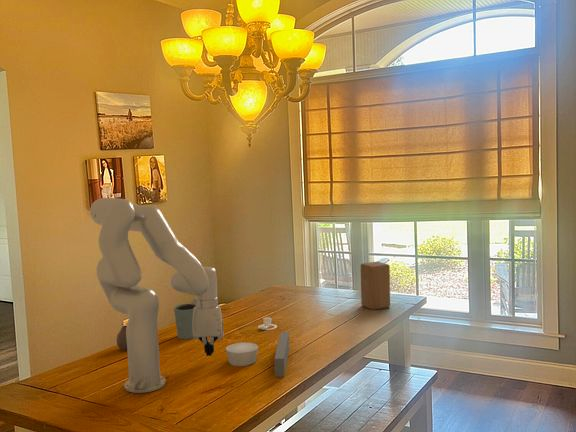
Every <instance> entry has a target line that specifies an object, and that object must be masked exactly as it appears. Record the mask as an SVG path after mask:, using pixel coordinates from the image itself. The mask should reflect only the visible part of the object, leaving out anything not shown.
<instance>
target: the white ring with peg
mask: <svg viewBox="0 0 576 432" xmlns="http://www.w3.org/2000/svg"><path fill="white" fill-rule="evenodd" d="M262 320H263V324H260V325H258V326H257V329H259V330H261V331H262V330H263V331H270V330H274V329H277V327H278V325H276V324H273V323H272V318H271V317H269V316H267V317H263V319H262ZM271 326H273V327H271Z"/></svg>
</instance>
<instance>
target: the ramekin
mask: <svg viewBox="0 0 576 432" xmlns="http://www.w3.org/2000/svg"><path fill="white" fill-rule="evenodd" d="M258 351H259V346H258V344H256V343H254V342H237V343H233V344H229V345H228V346H226V348H225V354H226V356H227V361H228V363H229V364H230V365H231V366H234V367H246V366H247V367H248V366H251V365H253V364H255V363H256V361H257V358H258Z"/></svg>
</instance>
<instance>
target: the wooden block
mask: <svg viewBox="0 0 576 432" xmlns="http://www.w3.org/2000/svg"><path fill="white" fill-rule="evenodd" d="M390 270H391V269H390V264H388V263H385V262H380V261H371V262H363V263H360V296H361V297H360V300H361V301H360V302H361V306H363V307H364V308H367V309H369V310H372V311H374V310H380V309H381V310H382V309H387V308H390V306H391V282H390V281H391V280H390V279H391V274H390V272H391V271H390Z"/></svg>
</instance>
